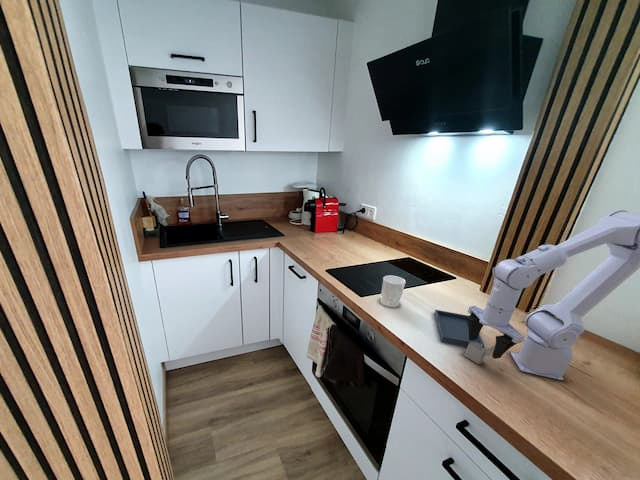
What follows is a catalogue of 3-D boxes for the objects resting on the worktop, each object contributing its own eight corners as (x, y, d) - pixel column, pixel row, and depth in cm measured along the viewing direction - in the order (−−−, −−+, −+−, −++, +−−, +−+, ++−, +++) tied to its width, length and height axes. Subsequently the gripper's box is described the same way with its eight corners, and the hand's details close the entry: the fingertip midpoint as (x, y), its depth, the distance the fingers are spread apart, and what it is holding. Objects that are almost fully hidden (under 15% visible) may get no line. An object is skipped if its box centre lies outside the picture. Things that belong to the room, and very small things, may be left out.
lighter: (463, 355, 83) (472, 332, 80) (467, 353, 84) (475, 331, 81) (490, 371, 77) (500, 347, 74) (493, 369, 78) (504, 345, 75)
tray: (468, 320, 100) (470, 316, 99) (482, 350, 85) (484, 345, 84) (433, 314, 104) (435, 309, 103) (441, 341, 89) (442, 336, 88)
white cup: (404, 307, 107) (410, 283, 103) (385, 308, 106) (390, 284, 102) (393, 297, 114) (398, 274, 110) (375, 298, 113) (379, 275, 109)
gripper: (464, 293, 79) (451, 334, 84) (514, 322, 66) (495, 368, 71) (485, 291, 80) (471, 331, 86) (538, 319, 67) (517, 364, 73)
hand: (483, 348), depth 79 cm, fingers open, 7 cm apart
